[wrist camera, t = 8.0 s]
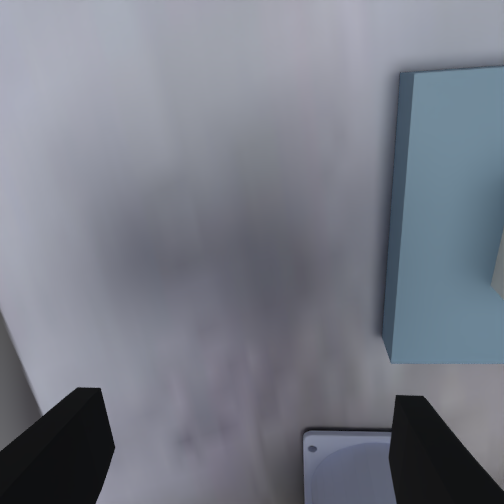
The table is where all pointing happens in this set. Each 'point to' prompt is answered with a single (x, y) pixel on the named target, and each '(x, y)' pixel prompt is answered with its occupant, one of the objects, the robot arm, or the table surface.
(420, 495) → the robot arm
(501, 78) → the base board
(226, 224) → the table surface
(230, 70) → the table surface
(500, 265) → the white block
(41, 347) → the table surface
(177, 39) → the table surface
